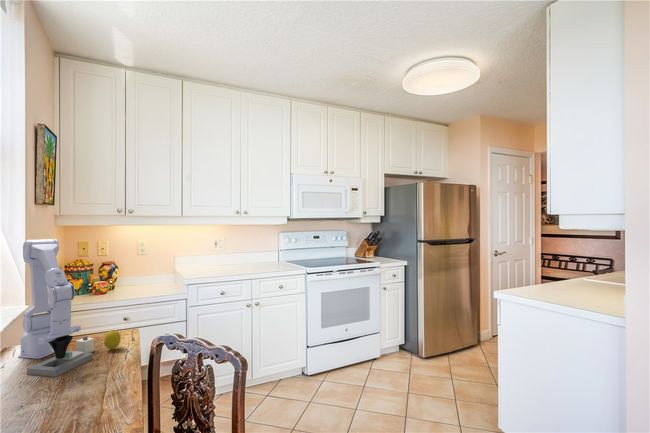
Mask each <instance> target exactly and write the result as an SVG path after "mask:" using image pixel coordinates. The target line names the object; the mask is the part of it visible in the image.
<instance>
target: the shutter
mask: <svg viewBox="0 0 650 433" xmlns="http://www.w3.org/2000/svg"><path fill="white" fill-rule="evenodd" d="M83 354H85V352H78V351H76V350H66V353H65V356H64V358H62V360H72V359H74V358H76V357H78V356H81V355H83Z"/></svg>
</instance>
